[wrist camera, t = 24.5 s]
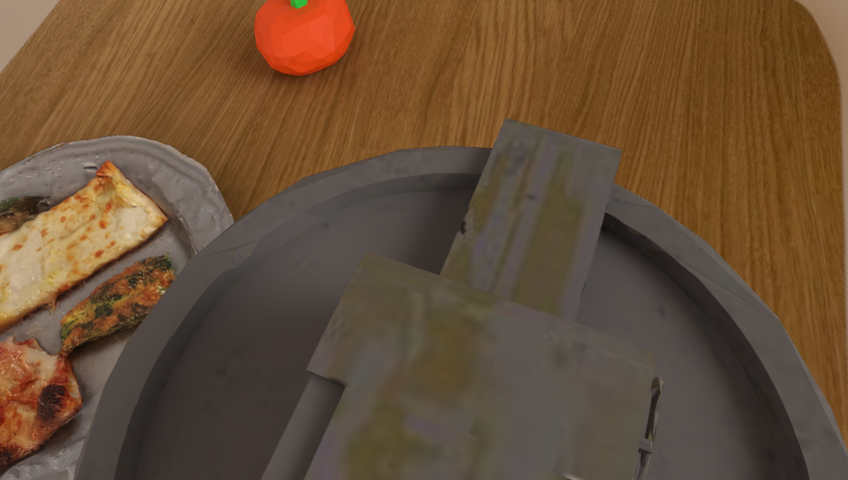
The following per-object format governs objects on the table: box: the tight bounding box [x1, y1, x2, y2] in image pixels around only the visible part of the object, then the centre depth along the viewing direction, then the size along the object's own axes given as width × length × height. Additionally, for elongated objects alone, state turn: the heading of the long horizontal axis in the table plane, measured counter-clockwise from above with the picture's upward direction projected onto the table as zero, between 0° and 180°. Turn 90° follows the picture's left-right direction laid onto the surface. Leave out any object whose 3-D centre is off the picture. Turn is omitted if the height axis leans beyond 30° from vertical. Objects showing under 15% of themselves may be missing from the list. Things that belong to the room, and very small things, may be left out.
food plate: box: [0, 135, 234, 480], centre depth 31 cm, size 25×23×4 cm
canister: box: [73, 118, 848, 480], centre depth 13 cm, size 11×10×20 cm
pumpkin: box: [254, 0, 355, 76], centre depth 38 cm, size 7×8×6 cm
